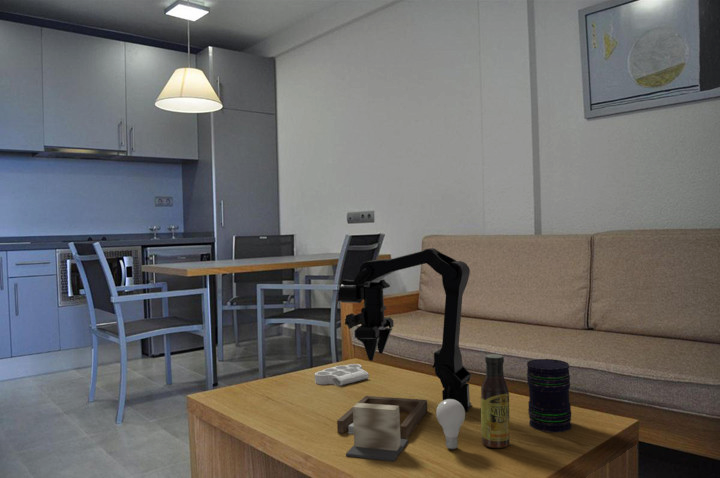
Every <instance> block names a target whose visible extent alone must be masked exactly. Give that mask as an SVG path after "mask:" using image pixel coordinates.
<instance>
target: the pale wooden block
mask: <svg viewBox="0 0 720 478" xmlns="http://www.w3.org/2000/svg"><path fill="white" fill-rule="evenodd" d="M352 407H353V426H354V434H353V441H354V442H353V443H354V444H353V445H354V447H363V448H373V449H383V450H393V451H397V450H398V449H399V448H400V446H401V438H400V425H401V421H400V420H401V419H400V418H401V417H400V411H399V406H395V405H381V404H367V403H358V402H357V403H355V404H354V405H353V406H352Z"/></svg>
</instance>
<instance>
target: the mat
mask: <svg viewBox="0 0 720 478" xmlns="http://www.w3.org/2000/svg"><path fill="white" fill-rule="evenodd" d="M408 443H409V439H408V438H407V439H401V446H400V448H399V449H398V450H397V451H393V450H383V449H373V448H363V447H354V444H353V445H352V447H351V448H349V450H347V452H346V453H345V456H346V457H350V458H360V459H369V460H378V461H386V462H387V461H388V462H395V461H396V460H397V458H398V457H399V456H400V454H401V452H402V451H403V450H404V448H406V445H407V444H408Z"/></svg>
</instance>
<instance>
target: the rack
mask: <svg viewBox="0 0 720 478" xmlns="http://www.w3.org/2000/svg"><path fill="white" fill-rule="evenodd" d="M357 403H367V404H381V405H395V406H399V413H400V412H401V413H402V412H404V413H409V414H408V416H406V418H405V419H403V422H401V423H400V438H401V439H408V438H409V437H410V436H411V434H412V433H413V432H414V430H415V429H416V427H417V426H418V424H420V422H421V420H422V419H423V418H424V417H425V415H426V414H427V412H428V400H427V399H421V398H406V397H405V398H401V397H391V396H374V395H373V396H371V395H365V396H363V397H362V398H361V399H360V400H359V401H358V402H357ZM352 423H353V406H352V407H351V408H350V409H348V411H346V412H345V413H344V414H343V415H342V416H340V417H339V418H338V419H337V420H336V426H337V433H338V434H345V432H347V431H348V426H349V425H350V424H352Z"/></svg>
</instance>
